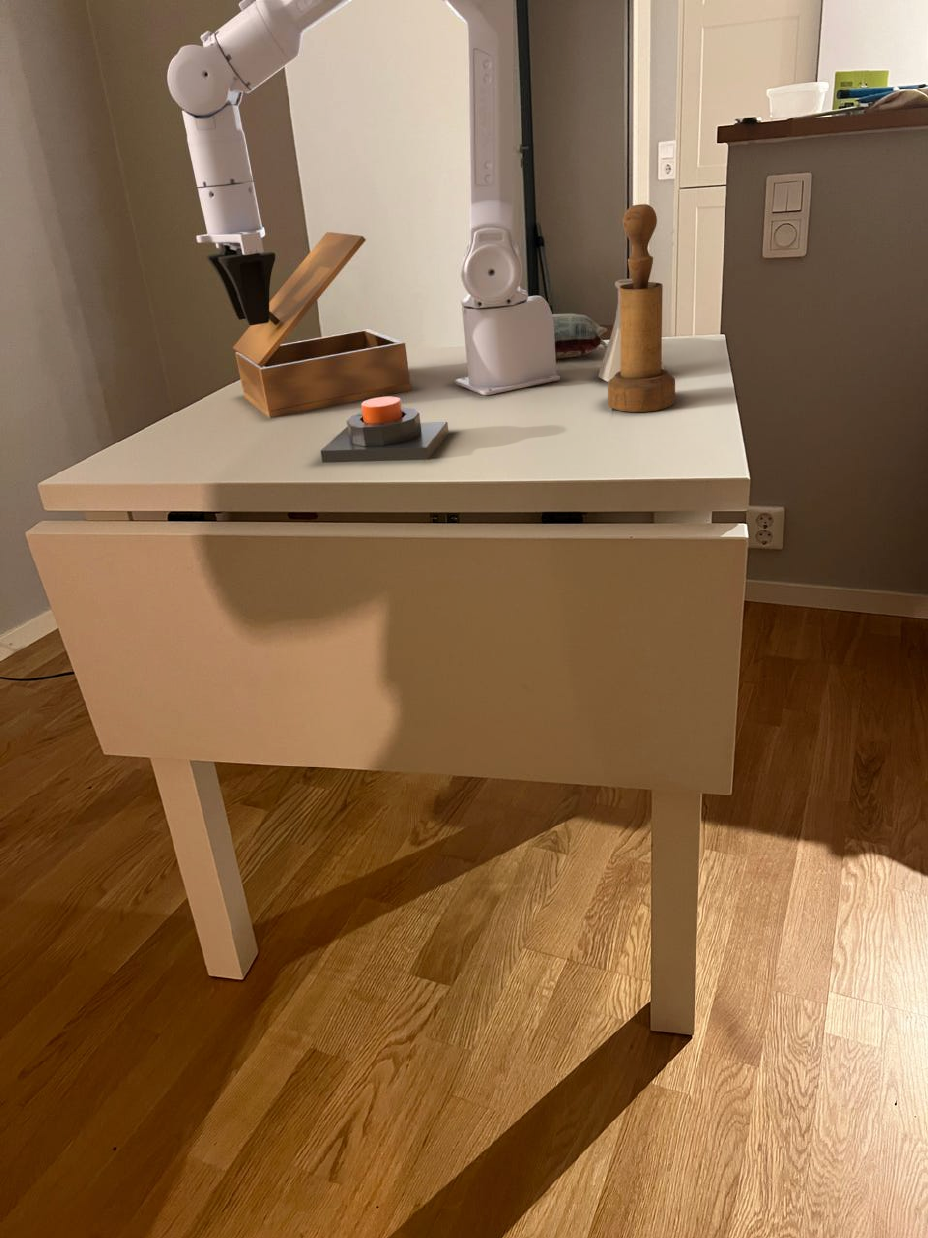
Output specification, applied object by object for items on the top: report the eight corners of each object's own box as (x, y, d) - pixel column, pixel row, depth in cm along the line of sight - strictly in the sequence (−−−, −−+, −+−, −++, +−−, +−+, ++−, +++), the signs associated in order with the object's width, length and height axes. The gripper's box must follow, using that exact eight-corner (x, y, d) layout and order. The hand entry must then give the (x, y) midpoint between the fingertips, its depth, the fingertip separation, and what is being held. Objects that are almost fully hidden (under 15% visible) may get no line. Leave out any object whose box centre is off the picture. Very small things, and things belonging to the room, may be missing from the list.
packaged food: (514, 350, 119) (512, 311, 116) (607, 344, 117) (606, 304, 114) (507, 367, 111) (504, 325, 109) (607, 361, 109) (606, 318, 107)
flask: (662, 366, 104) (662, 272, 99) (668, 382, 97) (669, 282, 93) (597, 371, 105) (594, 278, 100) (599, 387, 98) (596, 288, 94)
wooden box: (374, 372, 116) (368, 328, 113) (411, 389, 105) (405, 342, 103) (244, 397, 110) (235, 352, 108) (269, 418, 100) (260, 369, 97)
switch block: (448, 433, 88) (445, 402, 87) (428, 460, 81) (424, 427, 80) (350, 437, 90) (345, 406, 89) (322, 463, 83) (316, 431, 82)
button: (407, 414, 86) (404, 395, 85) (396, 425, 83) (394, 406, 82) (370, 415, 86) (367, 397, 86) (358, 426, 83) (355, 407, 83)
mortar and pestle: (675, 411, 87) (676, 204, 79) (606, 414, 89) (600, 211, 80) (675, 393, 93) (676, 198, 85) (610, 396, 94) (605, 204, 86)
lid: (330, 235, 107) (300, 203, 105) (366, 239, 97) (334, 205, 94) (236, 351, 108) (204, 323, 105) (261, 367, 97) (226, 337, 95)
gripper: (175, 189, 100) (204, 319, 106) (199, 189, 88) (230, 335, 94) (239, 181, 102) (264, 309, 108) (271, 180, 90) (297, 323, 96)
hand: (253, 320), depth 101 cm, fingers closed on lid, 5 cm apart
